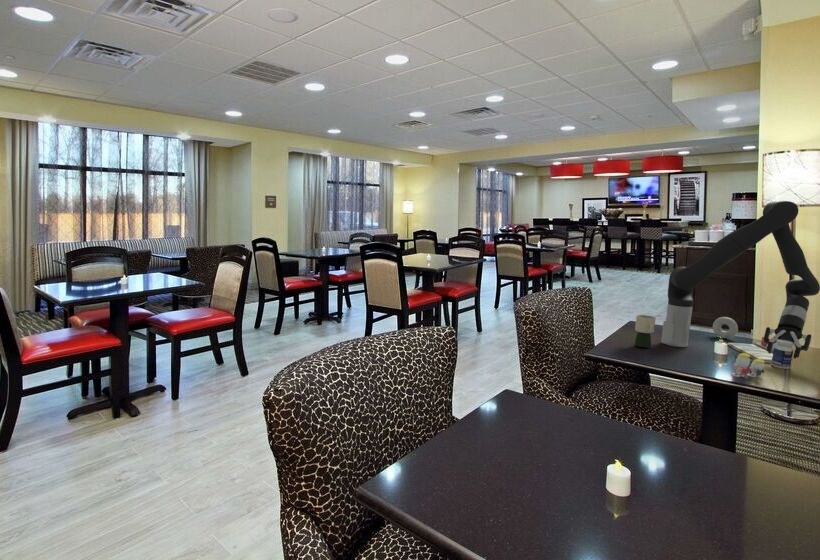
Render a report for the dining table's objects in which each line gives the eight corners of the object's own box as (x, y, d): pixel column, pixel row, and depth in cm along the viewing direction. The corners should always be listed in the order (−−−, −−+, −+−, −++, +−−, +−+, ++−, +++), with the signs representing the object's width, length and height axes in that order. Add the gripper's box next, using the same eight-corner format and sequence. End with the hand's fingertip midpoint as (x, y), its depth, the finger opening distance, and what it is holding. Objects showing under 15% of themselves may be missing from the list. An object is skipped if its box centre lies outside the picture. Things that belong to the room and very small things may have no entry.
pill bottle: (785, 370, 177) (789, 343, 175) (767, 365, 182) (772, 339, 180) (793, 368, 179) (797, 342, 178) (776, 363, 184) (780, 338, 183)
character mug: (657, 351, 194) (661, 320, 192) (640, 350, 194) (644, 319, 192) (644, 343, 205) (648, 313, 203) (627, 343, 205) (631, 313, 203)
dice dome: (789, 359, 196) (791, 344, 195) (770, 358, 196) (773, 343, 195) (770, 350, 207) (772, 336, 206) (753, 349, 208) (755, 335, 207)
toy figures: (756, 374, 171) (760, 351, 170) (766, 378, 167) (770, 355, 165) (725, 374, 169) (729, 351, 168) (735, 378, 165) (739, 355, 164)
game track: (787, 364, 184) (788, 360, 184) (759, 362, 185) (760, 359, 185) (752, 346, 207) (752, 344, 206) (727, 345, 208) (727, 342, 207)
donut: (737, 340, 216) (740, 319, 215) (734, 341, 214) (738, 319, 213) (712, 335, 224) (715, 314, 222) (709, 336, 222) (712, 315, 220)
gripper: (769, 310, 188) (758, 344, 182) (816, 317, 178) (806, 354, 171) (770, 321, 192) (759, 355, 186) (816, 329, 182) (806, 365, 176)
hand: (781, 354), depth 179 cm, fingers open, 7 cm apart
